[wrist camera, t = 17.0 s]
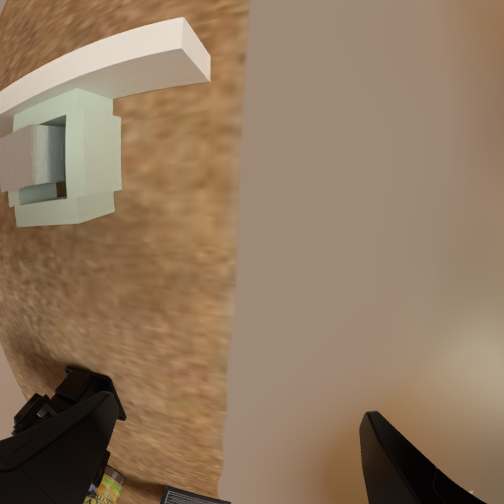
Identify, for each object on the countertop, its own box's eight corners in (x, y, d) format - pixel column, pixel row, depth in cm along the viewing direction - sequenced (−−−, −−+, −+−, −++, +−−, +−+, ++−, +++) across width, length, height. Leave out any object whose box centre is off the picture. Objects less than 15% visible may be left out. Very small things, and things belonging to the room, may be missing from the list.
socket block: (123, 211, 19) (87, 223, 15) (47, 216, 20) (11, 227, 16) (121, 97, 17) (86, 84, 13) (44, 121, 18) (8, 118, 13)
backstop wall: (210, 81, 16) (181, 48, 10) (5, 138, 18) (-38, 139, 13) (210, 56, 16) (183, 16, 10) (7, 119, 18) (-36, 118, 12)
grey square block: (95, 176, 19) (30, 185, 12) (63, 182, 19) (0, 192, 12) (94, 131, 18) (30, 124, 11) (62, 139, 18) (0, 138, 11)
